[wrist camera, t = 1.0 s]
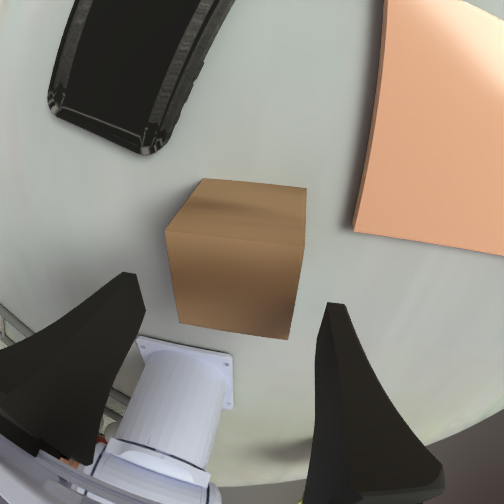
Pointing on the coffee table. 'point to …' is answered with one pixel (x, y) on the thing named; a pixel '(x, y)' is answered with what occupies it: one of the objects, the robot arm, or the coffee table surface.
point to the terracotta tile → (437, 128)
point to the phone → (132, 66)
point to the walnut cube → (238, 256)
